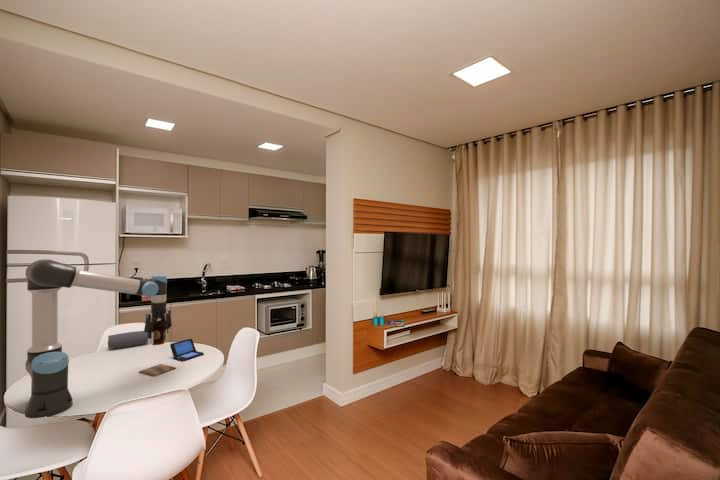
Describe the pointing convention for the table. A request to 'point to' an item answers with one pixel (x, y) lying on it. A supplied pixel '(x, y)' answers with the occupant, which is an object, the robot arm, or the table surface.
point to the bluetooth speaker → (127, 339)
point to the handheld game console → (184, 350)
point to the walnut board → (157, 370)
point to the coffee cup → (159, 332)
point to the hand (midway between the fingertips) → (158, 341)
